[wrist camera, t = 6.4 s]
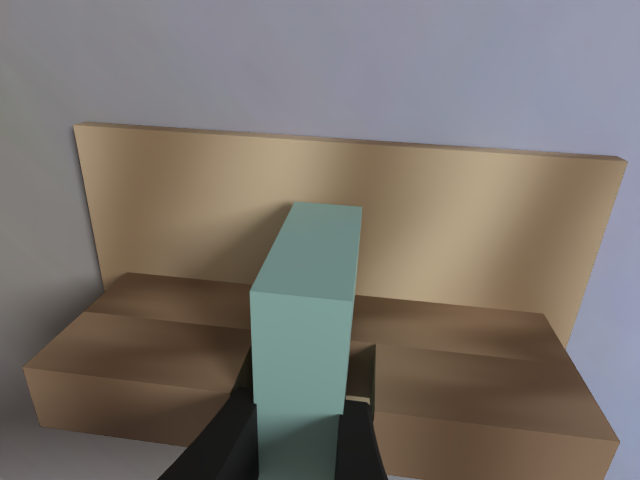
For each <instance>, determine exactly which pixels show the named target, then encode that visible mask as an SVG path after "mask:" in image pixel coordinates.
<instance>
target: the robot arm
mask: <svg viewBox="0 0 640 480" xmlns="http://www.w3.org/2000/svg"><path fill="white" fill-rule="evenodd" d="M258 478H259V455H258V427H257V404H255V403H254V394H253V388H247V387H238V388H237V389H236V390H235V391H234V392H233V393H232V395H231V396H230V397H229V399H228V400H227V401H226V403H225V404H224V405H223V406H222V408H221V409H220V410H219V411H218V413H217V414H216V415H215V416H214V418H213V419H212V420H211V421H210V422H209V424H208V425H207V426H206V427H205V428H204V430H203V431H202V432H201V433H200V434H199V435H198V436H197V438H196V439H195V440H194V441H193V442H192V443H191V444H190V445H189V447H188V448H187V449H186V450H185V451H184V452H183V453H182V454H181V455H180V457H179V458H178V459H177V460H176V461H175V462H174V463H173V464H172V465H171V466H170V467H169V468H168V469H167V470H166V471H165V472H164V473H163V474H162V475H161V476H160V477H159V478H158V479H157V480H258ZM334 480H388V478H387V475H386V472H385V469H384V466H383V462H382V459H381V455H380V452H379V448H378V444H377V440H376V436H375V431H374V426H373V420H372V413H371V406H370V405H369V404H368V403H367V402H362V401H354V400H346V399H345V400H344V409H343V414H340V416H339V425H338V438H337V451H336V464H335V477H334Z"/></svg>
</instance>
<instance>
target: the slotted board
mask: <svg viewBox="0 0 640 480" xmlns="http://www.w3.org/2000/svg"><path fill="white" fill-rule="evenodd" d="M73 127H74V132H75V137H76V143H77V148H78V153H79V159H80V164H81V169H82V175H83V180H84V185H85V191H86V196H87V201H88V206H89V212H90V217H91V222H92V228H93V233H94V238H95V244H96V249H97V254H98V260H99V265H100V270H101V276H102V281H103V286H104V291H105V293H104V294H103V295H101V296H100V297H99V298H98V299H97V300H96V301H95V302H94V303H93V304H92V305H90V306H89V307H88V308H87V309H86V310H85V311H84V312H83V313H82V314H80V315H79V316H78V317H77V318H76V319H75V320H74V321H73V322H72V323H71V324H69V325H68V326H67V327H66V328H65V329H64V330H63V331H62V332H61V333H60V334H58V335H57V336H56V337H55V338H54V339H53V340H52V341H51V342H50V343H48V344H47V345H46V346H45V347H44V348H43V349H42V350H41V351H40V352H39V353H37V354H36V355H35V356H34V357H33V358H32V359H31V360H30V361H29V362H28V363H26V364H25V365H24V366H23V367H22V368H23V371H24V375H25V378H26V381H27V384H28V388H29V391H30V394H31V398H32V401H33V404H34V408H35V411H36V414H37V418H38V421H39V424H40V427H47V428H54V429H61V430H68V431H76V432H83V433H90V434H97V435H104V436H112V437H119V438H126V439H133V440H140V441H148V442H155V443H162V444H169V445H177V446H184V447H189V445H190V444H191V443H192V442H193V441H194V440H195V439H196V438H197V436H198V435H199V434H200V433H201V432H202V431H203V430H204V428H205V427H206V426H207V425H208V424H209V422H210V421H211V420H212V419H213V418H214V416H215V415H216V414H217V413H218V411H219V410H220V409H221V408H222V406H223V405H224V404H225V403H226V401H227V400H228V399H229V397H230V396H231V395H232V393H233V392H234V391H235V390H236V389H237V388H238V387H247V388H253V367H252V340H251V313H250V290H251V288H252V286H253V284H254V282H255V280H256V278H257V276H258V274H259V272H260V270H261V268H262V266H263V264H264V262H265V260H266V258H267V256H268V254H269V252H270V250H271V248H272V246H273V244H274V242H275V240H276V238H277V236H278V234H279V232H280V230H281V228H282V226H283V224H284V222H285V220H286V218H287V216H288V214H289V212H290V210H291V208H292V206H293V204H294V202H295V201H297V202H309V203H321V204H334V205H346V206H358V207H362V218H361V230H360V242H359V254H358V265H357V277H356V289H355V299H354V309H353V319H352V329H351V339H350V350H349V362H348V374H347V386H346V400H354V401H362V402H367V403H368V404H369V405H370V406H371V413H372V420H373V426H374V431H375V436H376V440H377V444H378V448H379V452H380V455H381V459H382V462H383V466H384V469H385V472H386V475H393V476H400V477H407V478H415V479H422V480H604V477H605V475H606V473H607V471H608V468H609V466H610V464H611V462H612V459H613V457H614V455H615V453H616V450H617V448H618V446H619V444H620V441H619V439H618V437H617V436H616V434H615V432H614V431H613V429H612V427H611V426H610V424H609V422H608V421H607V419H606V417H605V416H604V414H603V412H602V411H601V409H600V407H599V405H598V404H597V402H596V400H595V399H594V397H593V395H592V394H591V392H590V390H589V389H588V387H587V385H586V384H585V382H584V380H583V379H582V377H581V375H580V374H579V372H578V370H577V369H576V367H575V365H574V364H573V362H572V360H571V359H570V357H569V355H568V354H567V352H566V347H567V344H568V341H569V338H570V335H571V332H572V329H573V326H574V323H575V320H576V317H577V314H578V311H579V308H580V305H581V302H582V299H583V296H584V293H585V290H586V286H587V283H588V280H589V277H590V274H591V271H592V268H593V265H594V262H595V259H596V256H597V253H598V250H599V247H600V244H601V241H602V238H603V235H604V232H605V229H606V226H607V223H608V220H609V217H610V214H611V211H612V208H613V205H614V202H615V199H616V196H617V193H618V190H619V187H620V184H621V181H622V178H623V175H624V172H625V169H626V166H627V163H628V161H626V160H624V159H622V158H620V157H617V156H603V155H588V154H573V153H557V152H542V151H526V150H511V149H496V148H480V147H465V146H449V145H434V144H419V143H403V142H388V141H372V140H357V139H342V138H326V137H311V136H296V135H280V134H265V133H249V132H234V131H219V130H203V129H188V128H172V127H157V126H142V125H126V124H111V123H95V122H83V123H79V124H75V125H73Z"/></svg>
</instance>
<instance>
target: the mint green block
mask: <svg viewBox="0 0 640 480" xmlns="http://www.w3.org/2000/svg"><path fill="white" fill-rule="evenodd" d="M361 218H362V207H358V206H346V205H334V204H321V203H309V202H297V201H295V202H294V204H293V206H292V208H291V210H290V212H289V214H288V216H287V218H286V220H285V222H284V224H283V226H282V228H281V230H280V232H279V234H278V236H277V238H276V240H275V242H274V244H273V246H272V248H271V250H270V252H269V254H268V256H267V258H266V260H265V262H264V264H263V266H262V268H261V270H260V272H259V274H258V276H257V278H256V280H255V282H254V284H253V286H252V288H251V290H250V313H251V340H252V367H253V394H254V403H255V404H257V427H258V455H259V478H258V480H334V477H335V464H336V451H337V438H338V425H339V416H340V414H343V409H344V400H345V399H346V386H347V374H348V362H349V350H350V339H351V329H352V319H353V309H354V299H355V289H356V277H357V265H358V254H359V242H360V230H361Z"/></svg>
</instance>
